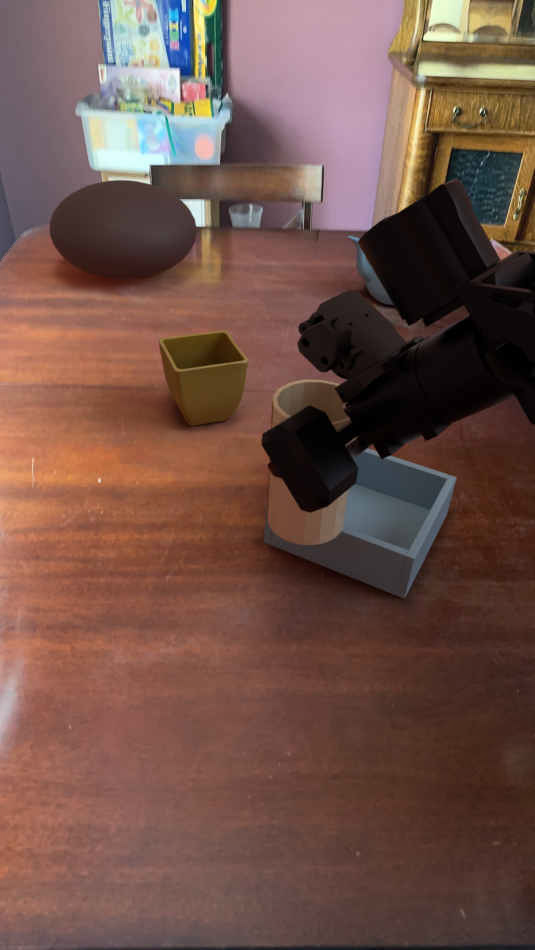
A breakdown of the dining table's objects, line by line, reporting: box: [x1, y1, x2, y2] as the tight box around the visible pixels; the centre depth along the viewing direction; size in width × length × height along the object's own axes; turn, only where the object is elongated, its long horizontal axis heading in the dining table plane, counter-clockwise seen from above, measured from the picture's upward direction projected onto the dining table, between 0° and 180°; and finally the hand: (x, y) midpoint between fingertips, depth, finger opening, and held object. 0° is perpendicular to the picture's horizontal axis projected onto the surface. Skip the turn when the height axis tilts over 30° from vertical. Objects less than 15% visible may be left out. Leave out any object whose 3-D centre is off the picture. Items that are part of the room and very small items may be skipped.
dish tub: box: [263, 447, 458, 599], centre depth 67 cm, size 15×14×5 cm
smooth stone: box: [49, 179, 198, 280], centre depth 117 cm, size 25×25×15 cm
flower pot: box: [158, 330, 249, 427], centre depth 82 cm, size 9×9×9 cm
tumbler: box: [266, 379, 357, 545], centre depth 56 cm, size 7×7×12 cm
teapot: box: [347, 235, 394, 306], centre depth 115 cm, size 13×11×18 cm
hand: (298, 450), depth 56 cm, fingers closed on tumbler, 7 cm apart
